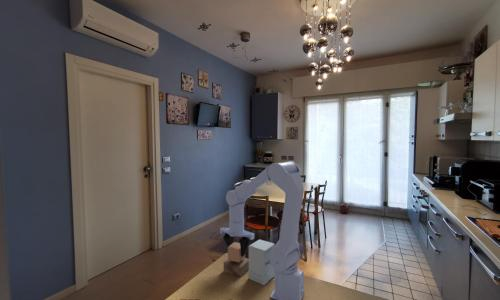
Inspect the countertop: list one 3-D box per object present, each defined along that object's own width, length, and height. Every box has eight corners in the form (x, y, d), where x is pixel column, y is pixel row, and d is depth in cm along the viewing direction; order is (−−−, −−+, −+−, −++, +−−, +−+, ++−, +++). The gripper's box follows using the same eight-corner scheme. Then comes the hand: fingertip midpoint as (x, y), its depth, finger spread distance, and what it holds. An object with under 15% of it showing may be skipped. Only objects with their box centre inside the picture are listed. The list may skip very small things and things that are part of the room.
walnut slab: (250, 269, 94) (250, 259, 94) (240, 277, 88) (240, 267, 88) (233, 263, 98) (233, 254, 98) (223, 271, 92) (223, 262, 92)
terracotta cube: (245, 256, 94) (245, 244, 94) (239, 262, 90) (238, 249, 89) (234, 254, 96) (234, 242, 96) (227, 259, 92) (227, 247, 92)
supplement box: (264, 286, 83) (264, 250, 82) (248, 278, 87) (247, 245, 87) (275, 276, 89) (275, 243, 88) (259, 269, 93) (259, 238, 93)
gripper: (215, 220, 92) (215, 254, 93) (248, 226, 86) (248, 262, 86) (225, 215, 99) (225, 247, 99) (256, 220, 92) (256, 254, 93)
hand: (236, 253), depth 93 cm, fingers closed on terracotta cube, 5 cm apart
